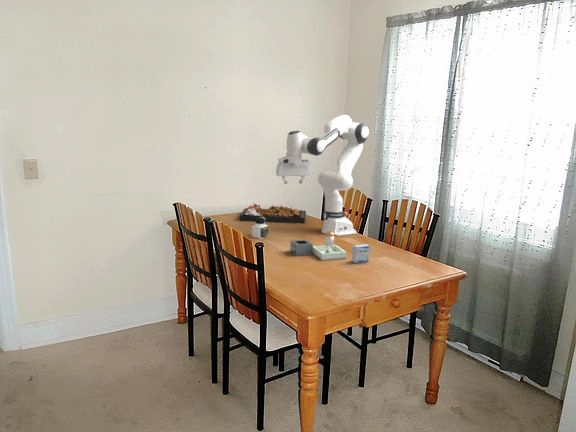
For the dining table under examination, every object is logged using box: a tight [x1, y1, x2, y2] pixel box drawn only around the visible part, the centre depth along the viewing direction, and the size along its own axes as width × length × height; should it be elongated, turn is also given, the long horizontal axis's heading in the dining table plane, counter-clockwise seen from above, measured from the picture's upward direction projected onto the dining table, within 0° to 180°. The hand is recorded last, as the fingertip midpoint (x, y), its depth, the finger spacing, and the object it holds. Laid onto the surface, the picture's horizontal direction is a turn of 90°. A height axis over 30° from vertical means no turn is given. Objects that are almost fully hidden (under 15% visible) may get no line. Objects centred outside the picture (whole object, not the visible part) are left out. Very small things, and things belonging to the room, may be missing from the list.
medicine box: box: [351, 243, 370, 264], centre depth 247 cm, size 8×4×9 cm, turn 117°
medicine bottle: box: [251, 217, 269, 240], centre depth 288 cm, size 7×7×12 cm
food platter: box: [238, 201, 307, 225], centre depth 337 cm, size 45×25×10 cm, turn 86°
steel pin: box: [324, 231, 335, 253], centre depth 255 cm, size 4×4×12 cm
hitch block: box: [289, 239, 314, 257], centre depth 259 cm, size 9×9×6 cm
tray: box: [312, 244, 348, 261], centre depth 256 cm, size 14×14×4 cm
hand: (293, 183), depth 276 cm, fingers open, 8 cm apart
